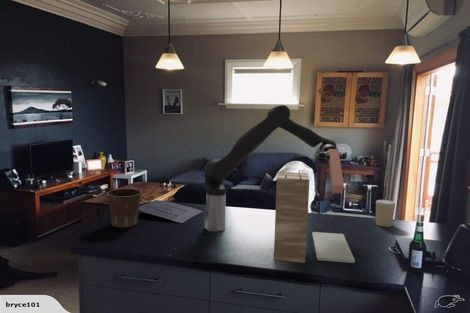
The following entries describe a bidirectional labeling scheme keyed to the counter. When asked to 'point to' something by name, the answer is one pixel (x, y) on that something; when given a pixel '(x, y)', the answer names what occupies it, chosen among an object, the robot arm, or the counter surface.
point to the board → (332, 247)
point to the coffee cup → (384, 212)
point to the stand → (291, 216)
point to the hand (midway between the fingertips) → (334, 157)
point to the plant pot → (124, 207)
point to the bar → (335, 171)
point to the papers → (169, 210)
